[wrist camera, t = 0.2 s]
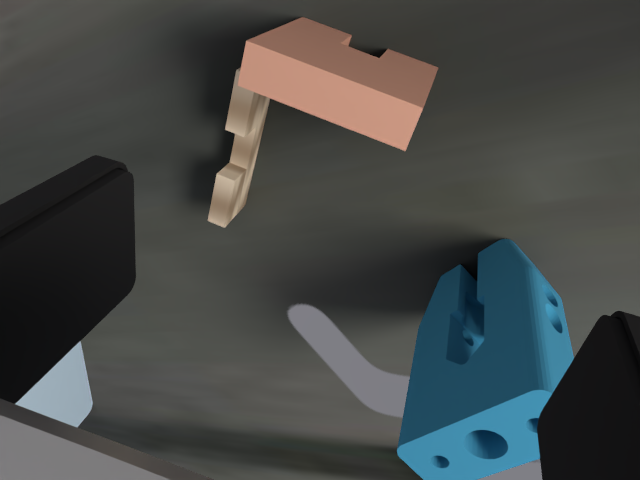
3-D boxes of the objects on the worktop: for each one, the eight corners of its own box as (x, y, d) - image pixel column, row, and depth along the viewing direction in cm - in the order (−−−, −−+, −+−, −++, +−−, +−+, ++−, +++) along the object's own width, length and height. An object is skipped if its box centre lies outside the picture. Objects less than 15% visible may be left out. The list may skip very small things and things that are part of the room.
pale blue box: (33, 279, 69) (-54, 344, 58) (70, 290, 68) (-11, 358, 57) (61, 396, 81) (-5, 468, 70) (93, 407, 80) (31, 482, 69)
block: (452, 320, 53) (437, 492, 37) (421, 287, 52) (391, 449, 36) (557, 262, 47) (596, 439, 30) (524, 224, 46) (545, 385, 29)
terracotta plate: (302, 17, 42) (246, 40, 32) (438, 67, 41) (423, 108, 31) (293, 52, 44) (237, 85, 34) (424, 102, 43) (405, 150, 33)
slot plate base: (259, 57, 45) (236, 69, 41) (278, 65, 45) (256, 77, 41) (229, 198, 53) (207, 220, 49) (245, 205, 53) (224, 227, 49)
